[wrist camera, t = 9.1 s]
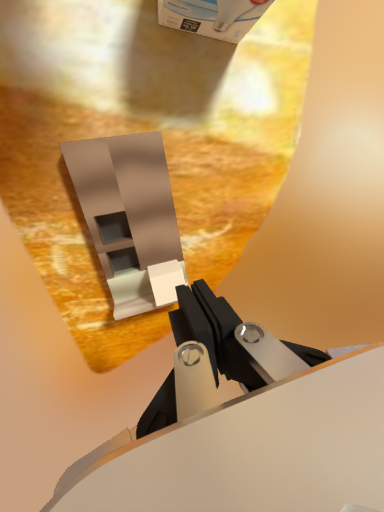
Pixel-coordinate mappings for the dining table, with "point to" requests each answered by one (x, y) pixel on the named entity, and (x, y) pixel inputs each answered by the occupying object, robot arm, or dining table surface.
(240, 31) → the light bulb box
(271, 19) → the dining table surface
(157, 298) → the block
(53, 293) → the dining table surface
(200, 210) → the dining table surface
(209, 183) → the dining table surface
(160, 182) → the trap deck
